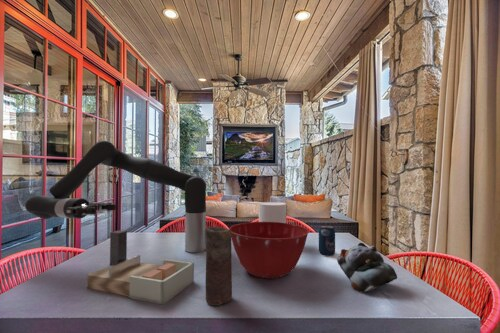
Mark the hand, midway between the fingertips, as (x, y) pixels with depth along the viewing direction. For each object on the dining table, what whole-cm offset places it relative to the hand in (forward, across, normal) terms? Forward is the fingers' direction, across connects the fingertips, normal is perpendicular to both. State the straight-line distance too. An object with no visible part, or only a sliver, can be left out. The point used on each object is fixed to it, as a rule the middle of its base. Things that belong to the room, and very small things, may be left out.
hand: (105, 209), depth 94 cm
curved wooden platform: (+14, -5, +22) cm, 27 cm away
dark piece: (+10, -5, +18) cm, 22 cm away
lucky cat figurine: (+87, +17, +25) cm, 92 cm away
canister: (+48, +53, +24) cm, 76 cm away
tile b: (+25, -9, +20) cm, 33 cm away
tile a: (+26, -3, +20) cm, 32 cm away
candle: (+47, -6, +24) cm, 53 cm away
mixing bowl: (+55, +18, +24) cm, 63 cm away
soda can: (+74, +45, +25) cm, 90 cm away
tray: (+28, -6, +23) cm, 37 cm away
